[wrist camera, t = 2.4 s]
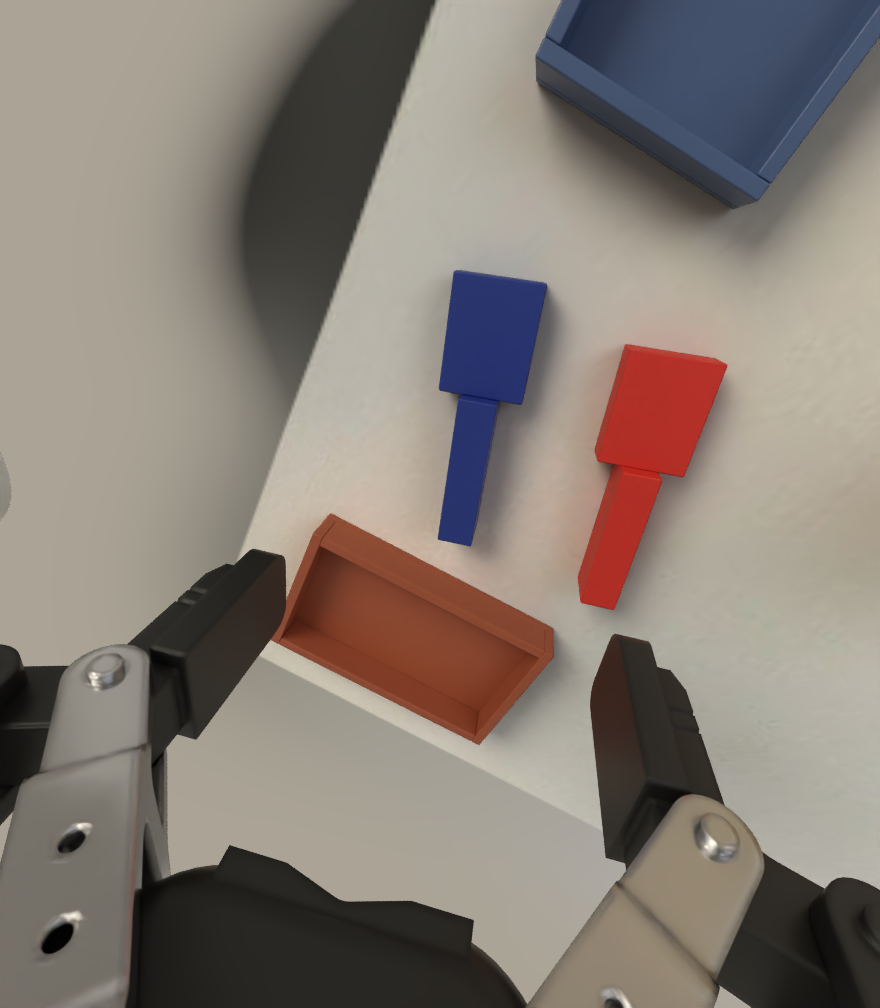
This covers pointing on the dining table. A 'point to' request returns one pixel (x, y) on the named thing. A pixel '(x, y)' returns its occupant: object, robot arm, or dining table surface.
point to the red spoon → (643, 454)
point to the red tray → (411, 631)
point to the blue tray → (708, 78)
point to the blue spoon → (483, 380)
